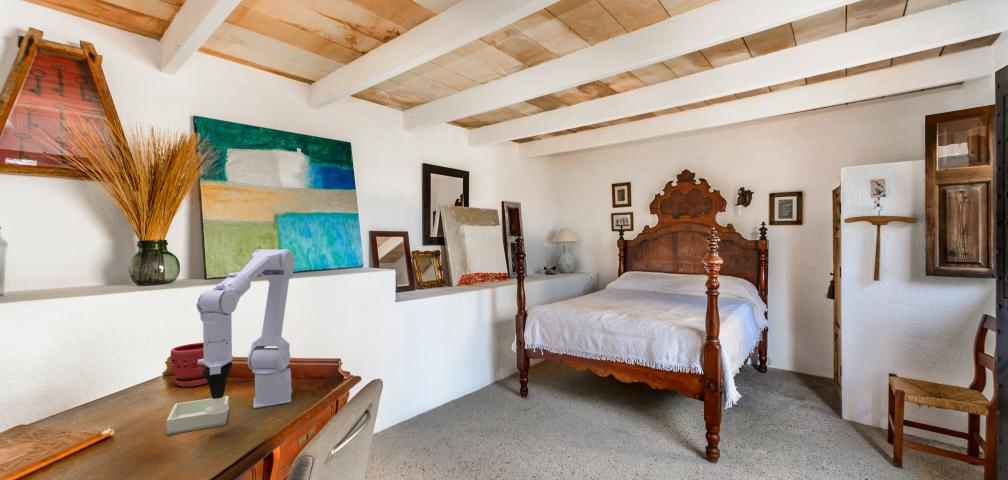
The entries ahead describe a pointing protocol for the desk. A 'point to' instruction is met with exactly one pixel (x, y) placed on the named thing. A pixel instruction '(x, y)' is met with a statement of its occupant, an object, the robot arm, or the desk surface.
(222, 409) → the chess piece
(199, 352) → the plant pot
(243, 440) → the desk surface
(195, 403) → the box
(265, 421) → the desk surface
